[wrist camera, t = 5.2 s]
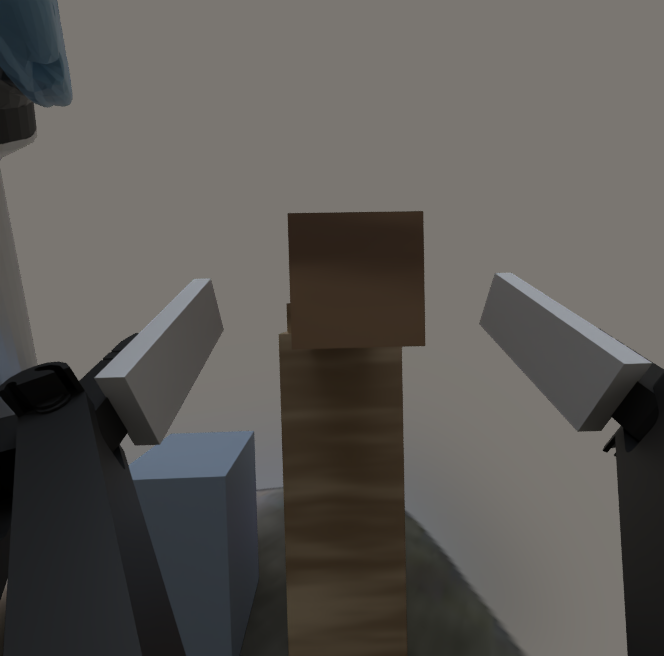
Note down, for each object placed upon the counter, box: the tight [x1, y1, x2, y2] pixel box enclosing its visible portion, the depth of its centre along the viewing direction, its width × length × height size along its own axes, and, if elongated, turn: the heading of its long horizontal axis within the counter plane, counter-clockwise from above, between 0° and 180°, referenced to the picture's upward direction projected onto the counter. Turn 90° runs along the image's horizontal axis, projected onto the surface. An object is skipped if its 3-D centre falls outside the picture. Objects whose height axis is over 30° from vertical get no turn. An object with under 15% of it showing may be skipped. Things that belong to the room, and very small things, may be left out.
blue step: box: [128, 431, 259, 656], centre depth 30 cm, size 10×10×18 cm
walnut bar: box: [288, 211, 425, 350], centre depth 20 cm, size 24×4×4 cm, turn 2°
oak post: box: [279, 303, 407, 656], centre depth 26 cm, size 14×8×33 cm, turn 2°
